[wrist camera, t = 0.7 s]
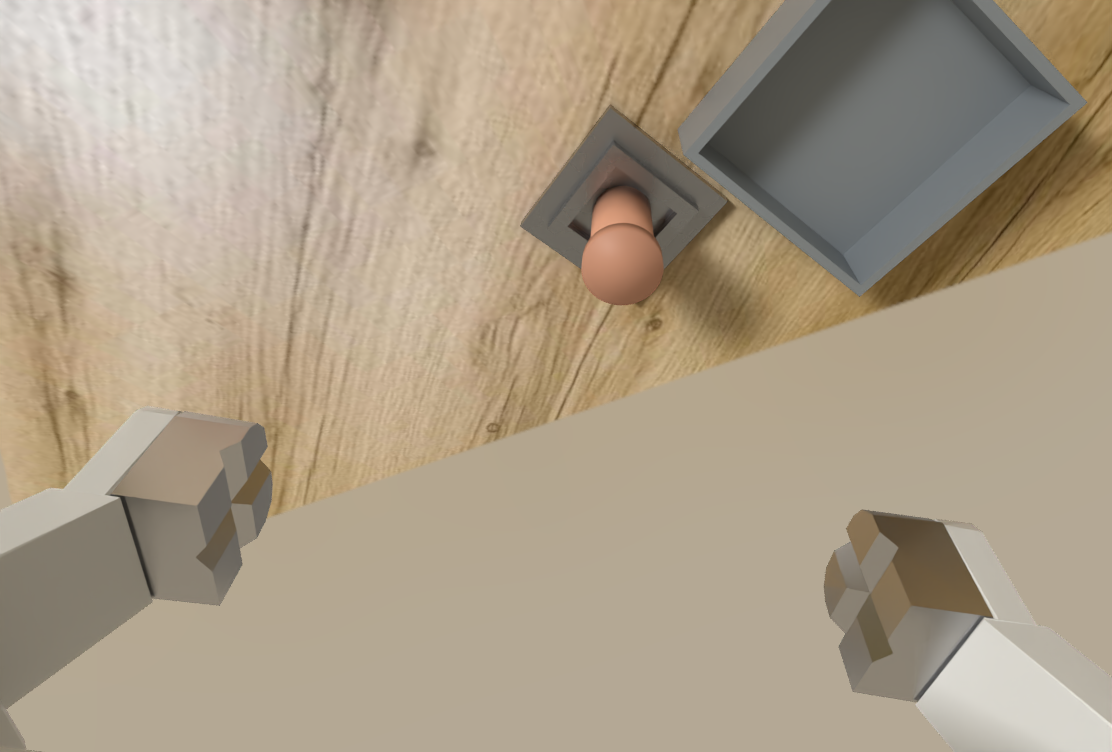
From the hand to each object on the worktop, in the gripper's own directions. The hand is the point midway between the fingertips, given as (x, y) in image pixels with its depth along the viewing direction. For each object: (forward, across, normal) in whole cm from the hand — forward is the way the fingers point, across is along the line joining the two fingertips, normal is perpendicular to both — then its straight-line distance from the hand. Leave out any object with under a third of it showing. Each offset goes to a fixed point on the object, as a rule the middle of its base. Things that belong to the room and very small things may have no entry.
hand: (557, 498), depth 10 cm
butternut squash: (+39, -4, +11) cm, 40 cm away
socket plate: (+40, -4, +11) cm, 41 cm away
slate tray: (+39, -16, +2) cm, 43 cm away
